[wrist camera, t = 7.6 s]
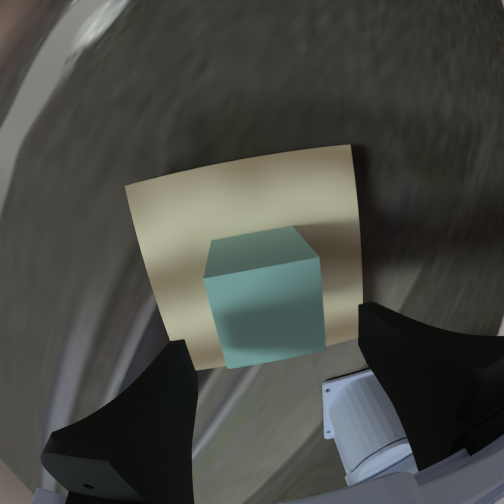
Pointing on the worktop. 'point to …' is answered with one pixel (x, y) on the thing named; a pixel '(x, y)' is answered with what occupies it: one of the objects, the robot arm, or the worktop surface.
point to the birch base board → (249, 221)
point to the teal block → (265, 296)
